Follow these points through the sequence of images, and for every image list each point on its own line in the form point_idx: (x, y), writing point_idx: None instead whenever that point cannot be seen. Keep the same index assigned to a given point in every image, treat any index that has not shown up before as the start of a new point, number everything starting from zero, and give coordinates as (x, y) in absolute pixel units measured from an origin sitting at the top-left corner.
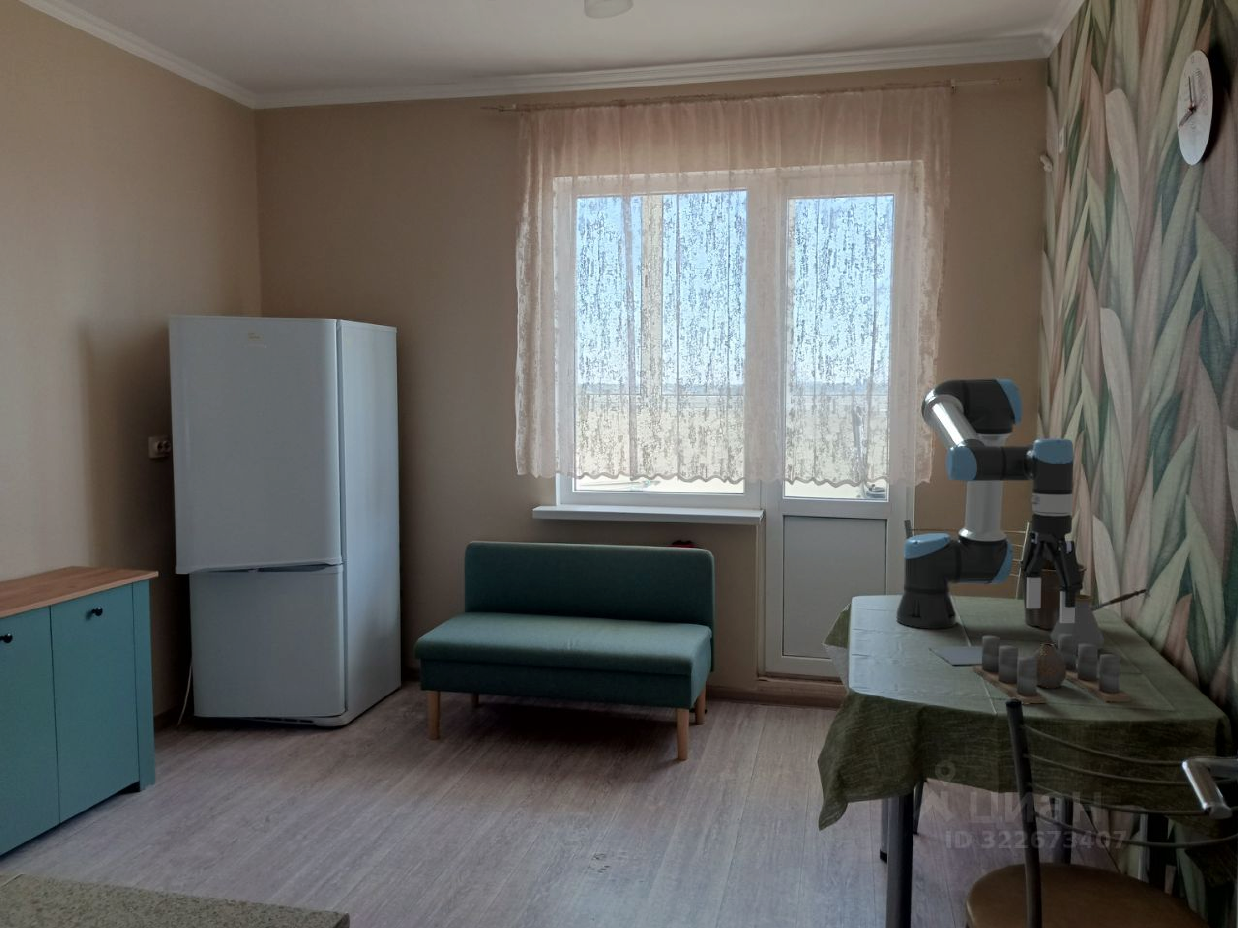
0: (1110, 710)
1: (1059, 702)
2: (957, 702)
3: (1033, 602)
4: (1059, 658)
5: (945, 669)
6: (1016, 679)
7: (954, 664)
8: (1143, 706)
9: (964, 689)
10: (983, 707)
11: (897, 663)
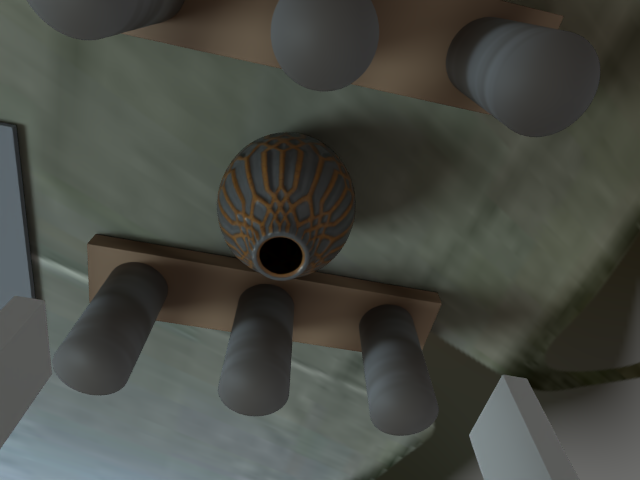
0: (574, 161)
1: (444, 252)
2: (344, 449)
3: (25, 378)
4: (339, 216)
5: None
6: (289, 301)
7: None
8: (616, 8)
9: None
10: None
11: None
